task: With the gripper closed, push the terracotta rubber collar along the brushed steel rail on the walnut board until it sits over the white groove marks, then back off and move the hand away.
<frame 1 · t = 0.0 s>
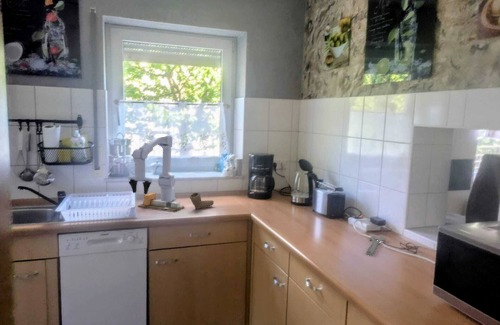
hand: (140, 193, 201), 10 cm above the worktop, tool pointing down, fingers open, 7 cm apart
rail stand: (161, 207, 210), on the worktop
collar: (149, 199, 212), point 4 cm above the worktop, slide at 0.0 cm
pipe: (202, 208, 211), on the worktop
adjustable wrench: (372, 247, 154), on the worktop
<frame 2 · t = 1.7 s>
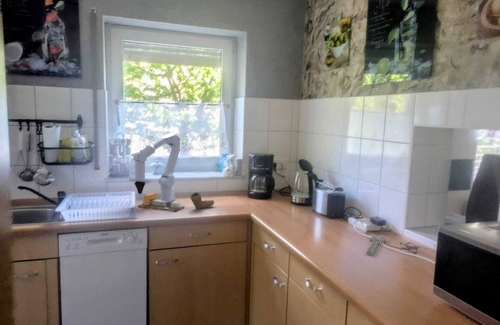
hand: (140, 193, 214), 7 cm above the worktop, tool pointing down, fingers closed
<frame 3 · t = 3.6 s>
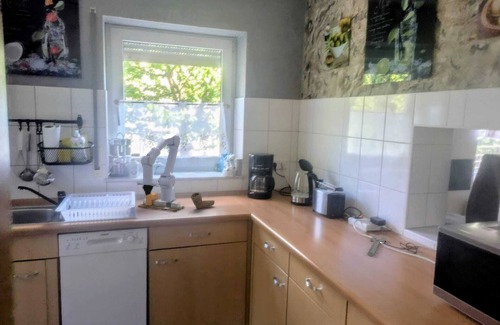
hand: (148, 197, 212), 5 cm above the worktop, tool pointing down, fingers closed
collar: (151, 199, 212), point 4 cm above the worktop, slide at 1.3 cm, touching gripper
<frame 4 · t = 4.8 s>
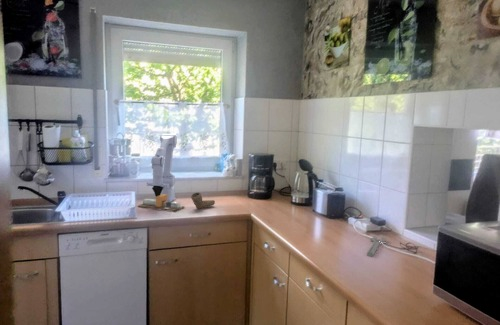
hand: (157, 198, 210), 5 cm above the worktop, tool pointing down, fingers closed
collar: (161, 200, 209), point 4 cm above the worktop, slide at 8.4 cm, touching gripper
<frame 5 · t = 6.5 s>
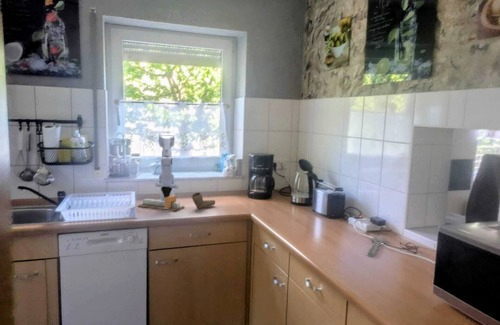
hand: (166, 199, 208), 5 cm above the worktop, tool pointing down, fingers closed
collar: (170, 201, 208), point 4 cm above the worktop, slide at 14.5 cm, touching gripper
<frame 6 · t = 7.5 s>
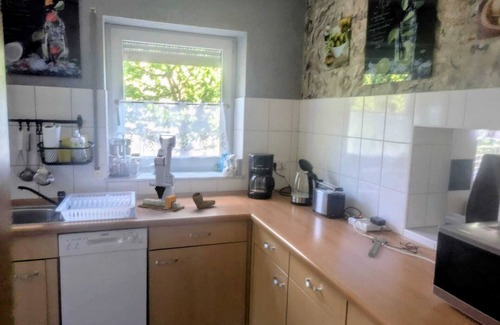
hand: (160, 198, 210), 5 cm above the worktop, tool pointing down, fingers closed
collar: (170, 201, 208), point 4 cm above the worktop, slide at 14.5 cm
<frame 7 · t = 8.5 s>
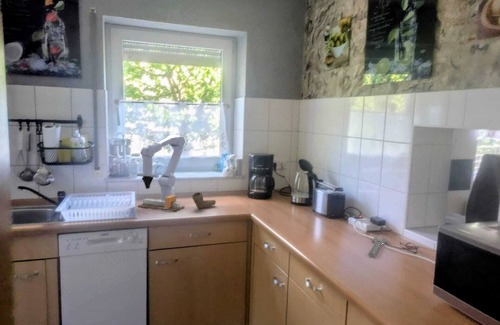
hand: (147, 188, 214), 10 cm above the worktop, tool pointing down, fingers closed
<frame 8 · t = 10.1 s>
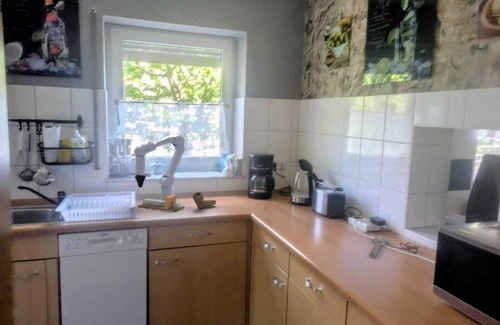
hand: (140, 187, 217), 10 cm above the worktop, tool pointing down, fingers closed
at the end: collar slide at 14.5 cm; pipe moved 2.0 cm from its start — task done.
